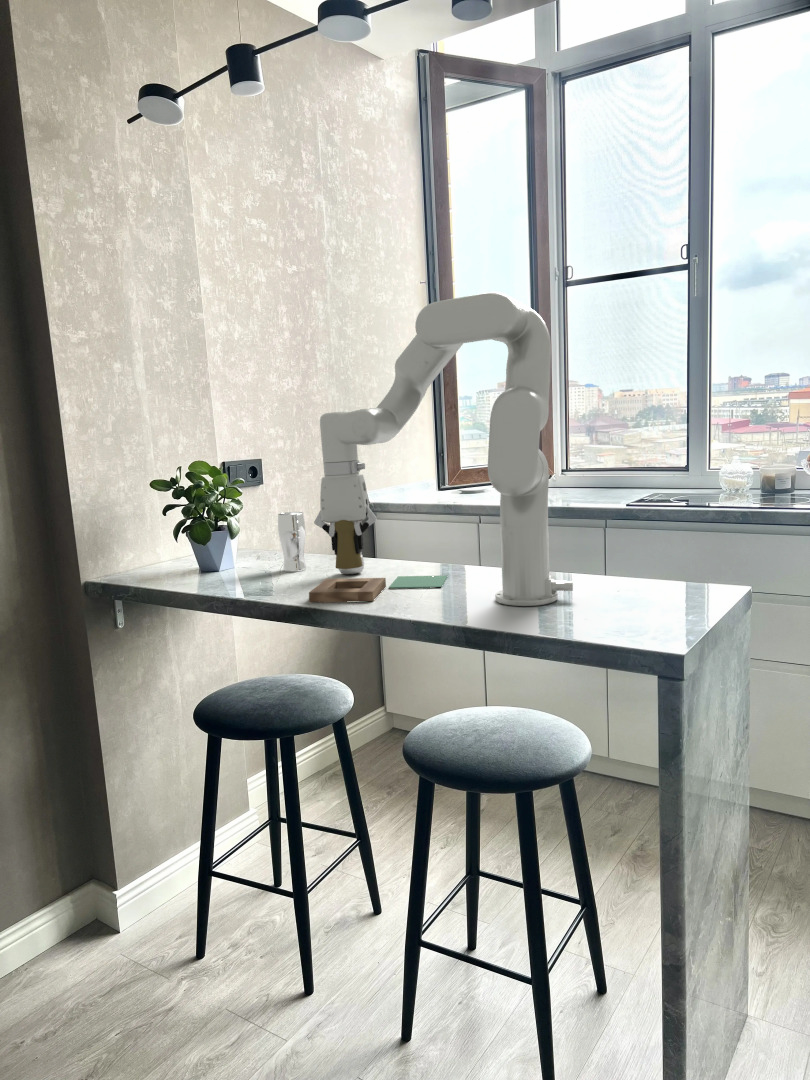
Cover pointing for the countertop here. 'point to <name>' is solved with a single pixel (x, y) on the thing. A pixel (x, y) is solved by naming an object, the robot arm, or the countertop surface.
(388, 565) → the countertop surface
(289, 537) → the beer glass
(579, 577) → the countertop surface
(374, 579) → the socket
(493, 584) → the countertop surface
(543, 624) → the countertop surface
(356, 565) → the cork
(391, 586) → the mat
